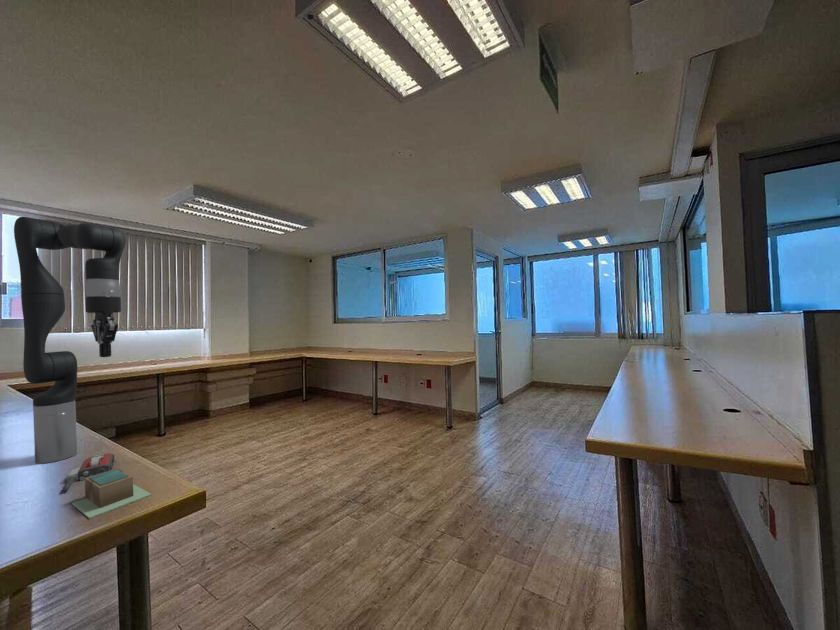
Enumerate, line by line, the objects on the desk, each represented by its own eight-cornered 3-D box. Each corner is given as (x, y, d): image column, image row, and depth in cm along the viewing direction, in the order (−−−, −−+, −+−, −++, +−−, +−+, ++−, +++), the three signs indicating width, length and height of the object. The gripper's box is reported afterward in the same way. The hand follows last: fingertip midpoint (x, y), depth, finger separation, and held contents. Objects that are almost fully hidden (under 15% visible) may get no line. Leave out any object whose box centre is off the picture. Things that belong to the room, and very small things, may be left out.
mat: (72, 504, 80) (72, 503, 80) (131, 483, 90) (131, 482, 90) (89, 518, 74) (89, 517, 74) (151, 495, 83) (151, 494, 83)
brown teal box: (84, 477, 83) (99, 487, 77) (116, 467, 88) (132, 476, 83) (85, 497, 83) (100, 508, 77) (117, 486, 88) (133, 495, 83)
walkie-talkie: (75, 469, 101) (59, 496, 85) (75, 454, 101) (59, 478, 85) (115, 461, 107) (107, 485, 90) (115, 446, 107) (107, 467, 91)
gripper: (78, 297, 100) (80, 357, 100) (93, 294, 93) (96, 359, 93) (111, 297, 106) (113, 354, 106) (128, 294, 99) (131, 356, 99)
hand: (105, 356), depth 99 cm, fingers closed
